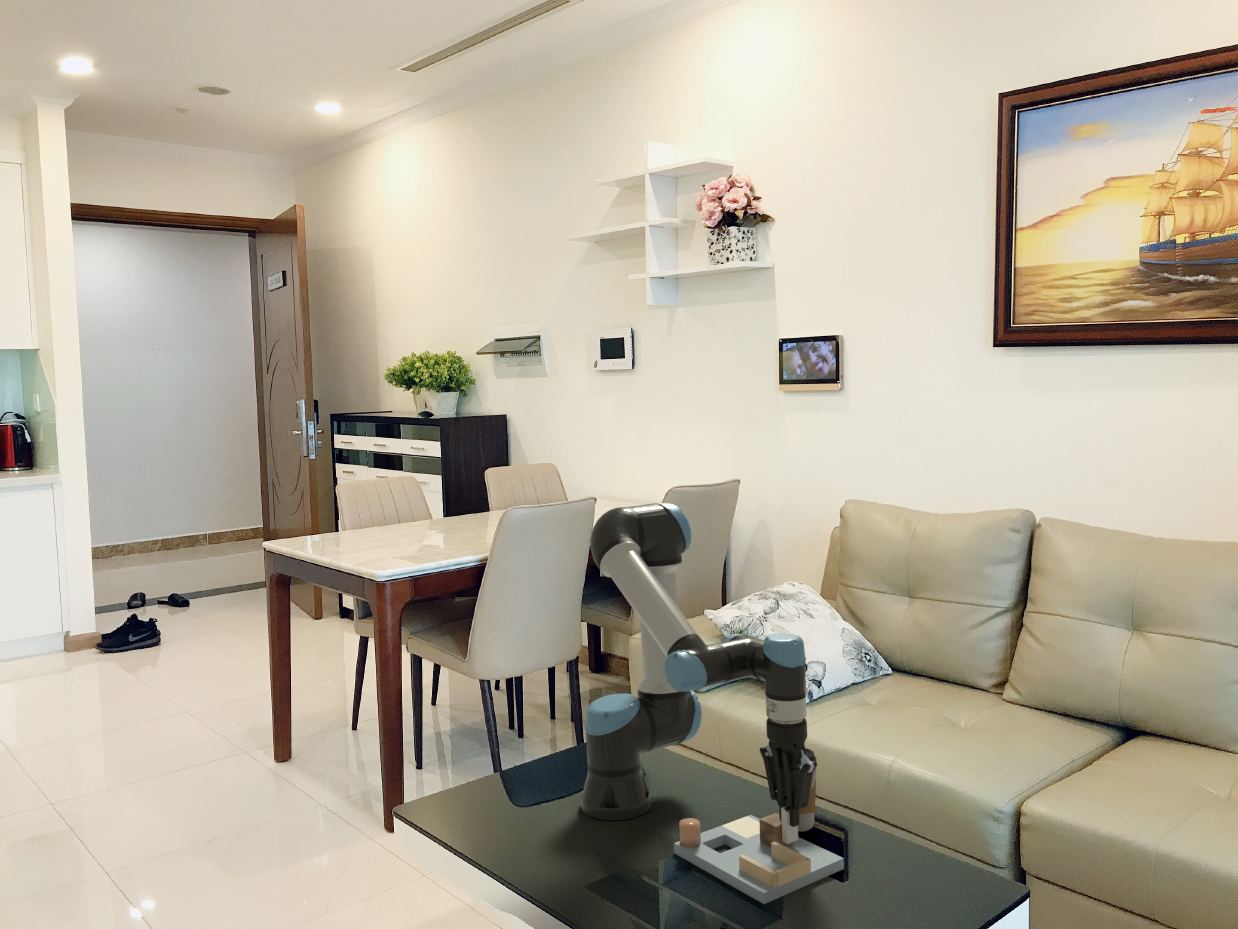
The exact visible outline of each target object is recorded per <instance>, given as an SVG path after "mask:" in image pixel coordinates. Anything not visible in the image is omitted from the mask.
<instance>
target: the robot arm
mask: <svg viewBox="0 0 1238 929" xmlns="http://www.w3.org/2000/svg"><path fill="white" fill-rule="evenodd" d="M589 542H590V544H589V545H590V546H589V547H590V550H591V551H590V552H591V555H592V558H593V561H594V563H595V565H596V566H597V568H598V569H599V571H600V572H601V574H602V575H603V576H604V577H607V578H611V579H612V581H613V582H614V584H615V585H616V587H617V589H619V591H620V592H621V593H622V595H623V596H624V598H625V600H626V601H627V602H628V604H629V606H631V608H632V609H633V611H634V613H635V614H636V615H637V617H638V618H639V622H640V623H639V624H640V641H641V642H640V643H641V656H642V657H641V658H642V675H643V676H642V677H643V679H642V680H641V681H640V682H639V684H638V685H637V688H636V689H637V696H636V695H634V694H631V693H626V692H625V693H617V694H616V693H612V694H607V695H603V696H602V697H599V698H597V699H595V700H594V701H592V702H590V704H589V705H588V707H587V709H585V710H586V711H585V723H584V730H585V737H586V738H585V740H586V756H587V757H586V759H587V775H586V779H585V782H584V786H583V790H582V794H581V798H580V803H581V804H580V805H581V810H582V812H583V814H585V815H586V816H588V817H589V818H594V819H597V820H603V821H623V820H629V819H632V818H633V819H634V818H637V817H640V816H642V815H644V814H645V813H646V812H648V811H649V810H650V809H651V806H652V801H651V792H650V789H649V786H648V784H647V781H646V779H645V776H644V773H643V770H642V754H644V753H649V752H652V751H656V750H660V749H662V748H663V749H664V748H667V747H672V746H678V745H680V744H682V743H684V742H687V741H690V740H691V739H693V738H694V737H695V735H696V734H697V733H698V732H699V730H700V728H701V723H702V717H703V716H702V713H703V712H702V706H701V702H700V701H699V697H698V695H697V693H696V692H695V691H699V690H701V689H704V688H708V687H711V686H716V685H719V684H725V683H728V682H733V681H738V680H742V679H746V678H747V679H748V678H751V679H755V680H758V681H762V682H764V685H765V691H764V693H765V711H766V712H765V714H766V717H767V718H766V720H765V722H766V737H767V739H768V745H765V746H761V747H759V752H760V755H761V757H762V760H763V764H764V769H765V773H766V780H767V786H768V790H769V796H770V799H771V800H772V801H776V802H777V805H778V807H779V810H778V811H779V813H778V814H780V821H781V822H782V842H784V843H787V844H789V843H792V842H794V841H797V840H798V837H799V831H798V825H799V823H800V820H799V810H800V809H802V808H805V807H807V806H808V801H809V795H810V789H811V783H812V777H813V772H814V770H815V769H816V770H817V766H818V762H817V761H816V762H817V763H816V762H815V761H812V762H811V761H810V760H809V758H808V757H807V756H806V754H807V752H806V749H805V748H806V745H805V744H806V740H807V738H808V721H807V719H806V718H807V714H808V713H807V712H808V711H807V709H808V708H807V691H806V690H807V688H806V687H807V686H806V683H807V682H806V663H807V658H806V652H805V643H804V639H803V638H802V637H801V636H799V635H797V634H795V633H794V634H793V633H787V632H786V633H784V632H780V633H771V634H768V635H767V636H765V638H764V639H760V638H757V637H754V636H752V635H749V634H746V633H745V634H740V633H733V634H729V635H727V637H725V639H723V640H722V641H721V642H718V643H711V644H706V643H705V642H704V640H703V639H702V638H701V636H699V634H698V633H697V631H696V630H695V629H694V627H693V626H692V625H691V623H690V621H688V619H687V618H686V616H685V615H684V614H683V612H682V611H681V610H680V608H679V607H678V606H679V605H678V591H677V590H678V589H677V573H676V572H677V570H678V569H679V567H680V566H681V565H682V564H683V557H682V556H683V555H682V554H684V553H685V552H686V551H688V550H689V548H690V545H691V543H692V529H691V525H690V522H689V520H688V517H687V516H686V514H685V513H684V512H683V511H682V509H681V508H680V507H679V506H677V505H675V504H674V503H668V502H665V503H662V502H661V503H658V502H656V503H648V504H640V505H632V506H621V507H620V506H619V507H615V508H612V509H609V510H608V511H606V512H604V513H603V514H602V515H601V516H599V517H598V519H597V520H596V522H595V524H594V525H593V528H592V530H591V534H590V541H589Z"/></svg>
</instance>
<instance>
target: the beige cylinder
mask: <svg viewBox="0 0 1238 929" xmlns="http://www.w3.org/2000/svg"><path fill="white" fill-rule="evenodd" d="M678 827H679V841H680V844H681V845H682V846H684V847H689V848H692V847H697V846H699V845H700V844H701V833H702V832H701V821H700V820H699V819H697V818H694V817H693V818H692V817H691V818H689V817H688V818H683V819H680V820H679V824H678Z"/></svg>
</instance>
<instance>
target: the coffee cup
mask: <svg viewBox="0 0 1238 929" xmlns="http://www.w3.org/2000/svg"><path fill="white" fill-rule="evenodd" d="M805 749H806V752H807V754H806V756H807V757H808V758H809V760H810V761H811V762H812V761H815V762H816V763H817V764H818V762H817V757H816V756H815V752H814V751H813V750H812V749H810V748H807V747H805ZM816 787H817V768H816V769H815V770H814V772H813V777H812V783H811V789H810V795H809V801H808V806H807V807H805V808H802V809H800V810H799V820H800V823H799V825H798V832H807V831H809V830H811V829H813V827H814V825H815V812H816V799H817V798H816V796H817V795H816V792H817V788H816Z"/></svg>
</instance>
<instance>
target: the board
mask: <svg viewBox="0 0 1238 929" xmlns="http://www.w3.org/2000/svg"><path fill="white" fill-rule="evenodd" d="M759 819H760V818H759V817H756V816H754V815H752V814H749V815H746V816H743V817H741V818H739V819H735V820H733V821H730V822H728V823H725V824H722V825H719V826H716V827H714V828H711V829H708V830H706V831H703V832H700V833H701V844H700V845H699V846H697V847H692V848H689V847H684V846H682V845H681V844H680V840H679V841H676V842H674V843H673V854H675V855H677V856H679V857H680V858H682V859H683V860H686V861H687V862H689V863H691V864H692V865H694V866H697V867H698V868H700V869H701V870H703V871H705V872H707V873H709V874H710V875H712V876H714V877H716V879H719V880H721V881H722V882H724V883H725V884H727V885H730V886H731V887H733V888H735V889H736V890H738V891H740V892H741V893H744V894H745V895H747V896H749V897H751V898H752V899H754V900H755V901H758V902H760V903H761V904H762V905H766V904H769V903H770V902H772V901H775V900H777V899H779V898H781V897H784V896H787V895H789V894H790V893H793V892H795V891H797V890H799V889H801V888H804V887H806V886H809V885H812V884H813V883H815V882H817V881H820V880H822V879H825V878H826V877H829V876H832V875H833V874H836V873H837V872H841V871H842V870H844V869H845V868H844V867H845V861H844V860H845V859H844V857H842V856H840V855H838V854H836V853H834V852H831V851H829V850H827V849H825V848H822V847H820V846H818V845H816V844H814V843H812V842H810V841H808V840H806V839H804V838H801V837H799V836H798V840H797V841H794V843H793V844H791V845H788V846H786V847H785V846H783V845H781V844H779V843H777V842H773V843H771V847H769V846H767V845H765V844H763V843H761V842H760V824H759ZM725 845H726V846H728V847H729V848H731V849H727V850H725V851H722V852H718V851H717V850H715V849H718V848H719V847H722V846H725Z"/></svg>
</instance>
